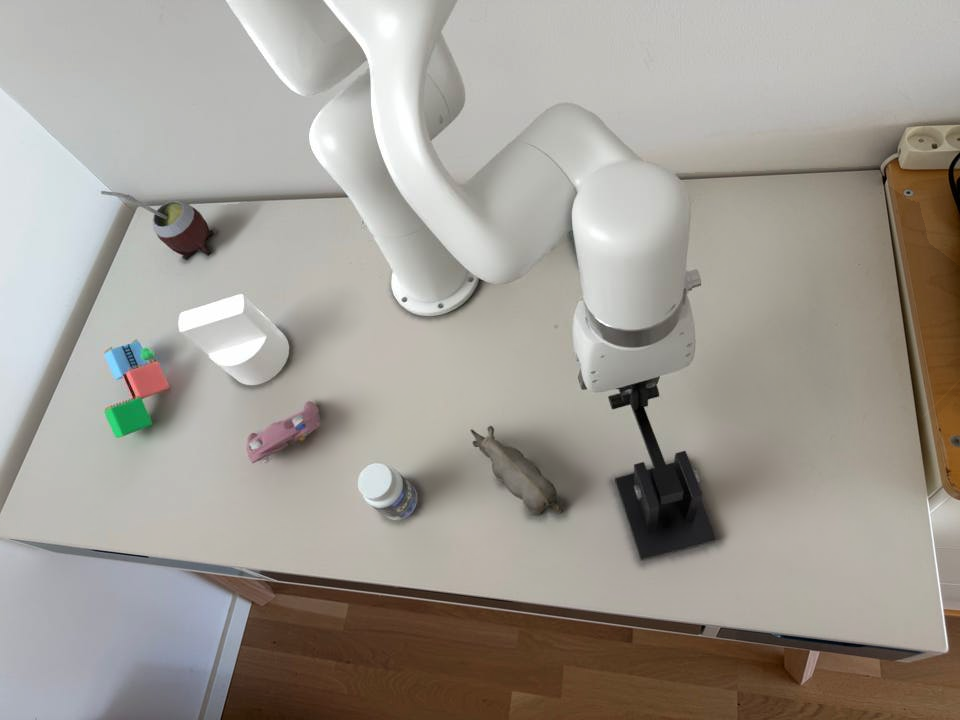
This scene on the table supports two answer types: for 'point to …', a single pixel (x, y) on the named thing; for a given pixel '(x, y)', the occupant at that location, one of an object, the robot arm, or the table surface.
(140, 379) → the building blocks
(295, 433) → the pink toy car
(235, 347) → the white rounded block
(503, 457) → the rhino figurine
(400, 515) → the pill bottle
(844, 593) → the table surface
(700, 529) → the bracket
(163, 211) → the mate gourd
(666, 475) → the lever
